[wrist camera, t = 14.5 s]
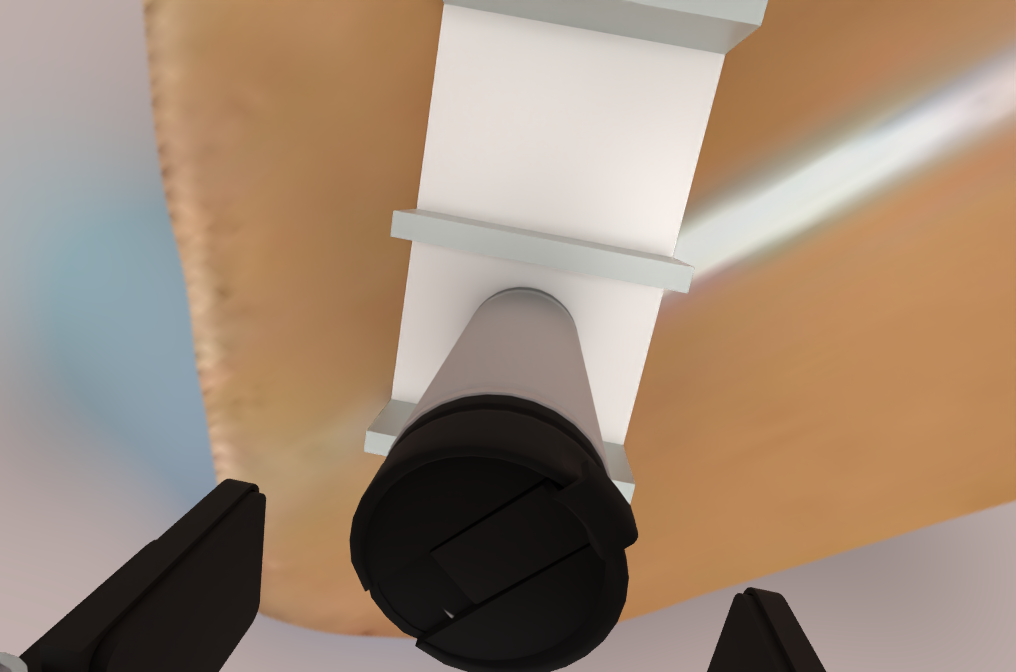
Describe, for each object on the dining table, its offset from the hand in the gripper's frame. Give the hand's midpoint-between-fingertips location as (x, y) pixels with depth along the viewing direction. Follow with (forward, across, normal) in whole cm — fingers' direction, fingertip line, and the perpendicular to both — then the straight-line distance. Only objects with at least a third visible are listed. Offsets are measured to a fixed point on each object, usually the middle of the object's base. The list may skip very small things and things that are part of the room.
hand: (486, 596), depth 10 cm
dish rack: (+22, 0, -5) cm, 23 cm away
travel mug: (+21, 0, +1) cm, 21 cm away
